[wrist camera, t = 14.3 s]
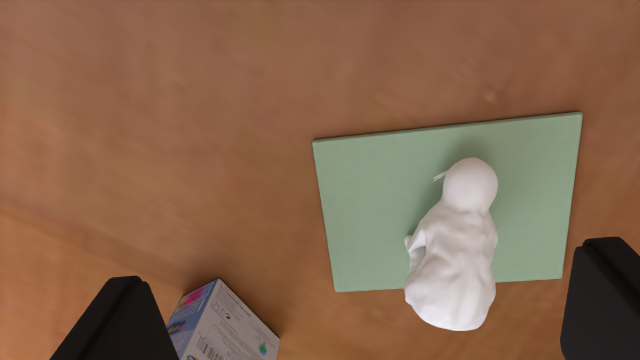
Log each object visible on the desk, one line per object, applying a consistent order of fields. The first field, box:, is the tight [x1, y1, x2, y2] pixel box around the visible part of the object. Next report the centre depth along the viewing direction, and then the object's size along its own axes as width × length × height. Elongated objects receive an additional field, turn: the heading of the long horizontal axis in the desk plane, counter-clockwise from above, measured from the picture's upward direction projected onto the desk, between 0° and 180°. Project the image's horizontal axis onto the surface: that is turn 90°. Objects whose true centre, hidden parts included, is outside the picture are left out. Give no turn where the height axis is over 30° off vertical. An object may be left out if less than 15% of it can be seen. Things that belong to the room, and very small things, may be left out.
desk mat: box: [312, 112, 583, 292], centre depth 35 cm, size 20×15×1 cm
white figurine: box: [404, 158, 498, 331], centre depth 32 cm, size 6×8×12 cm
